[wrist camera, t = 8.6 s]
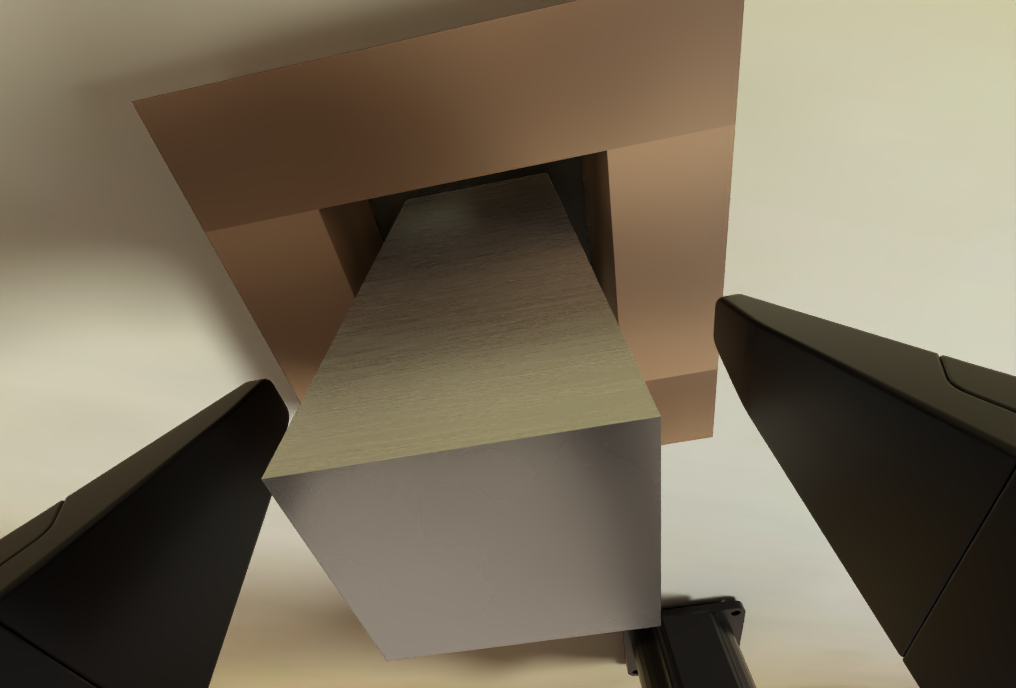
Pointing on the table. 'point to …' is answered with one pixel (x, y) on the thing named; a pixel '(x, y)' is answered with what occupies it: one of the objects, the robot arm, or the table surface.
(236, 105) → the block
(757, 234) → the table surface
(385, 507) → the grey long rectangular block
